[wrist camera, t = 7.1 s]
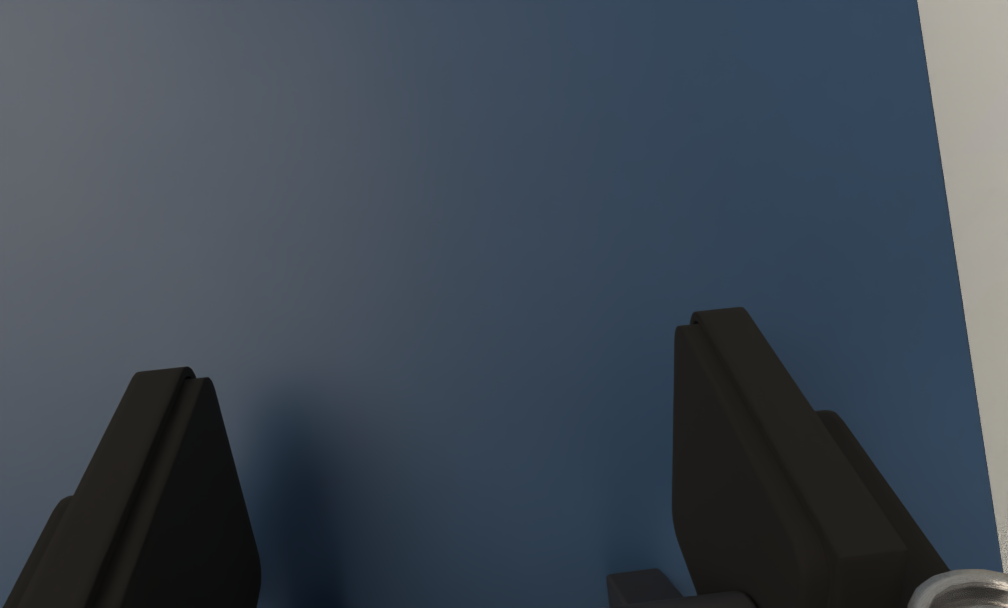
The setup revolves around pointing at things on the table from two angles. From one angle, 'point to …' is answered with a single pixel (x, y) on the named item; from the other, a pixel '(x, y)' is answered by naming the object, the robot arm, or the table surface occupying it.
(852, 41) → the cooler lid
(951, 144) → the table surface
